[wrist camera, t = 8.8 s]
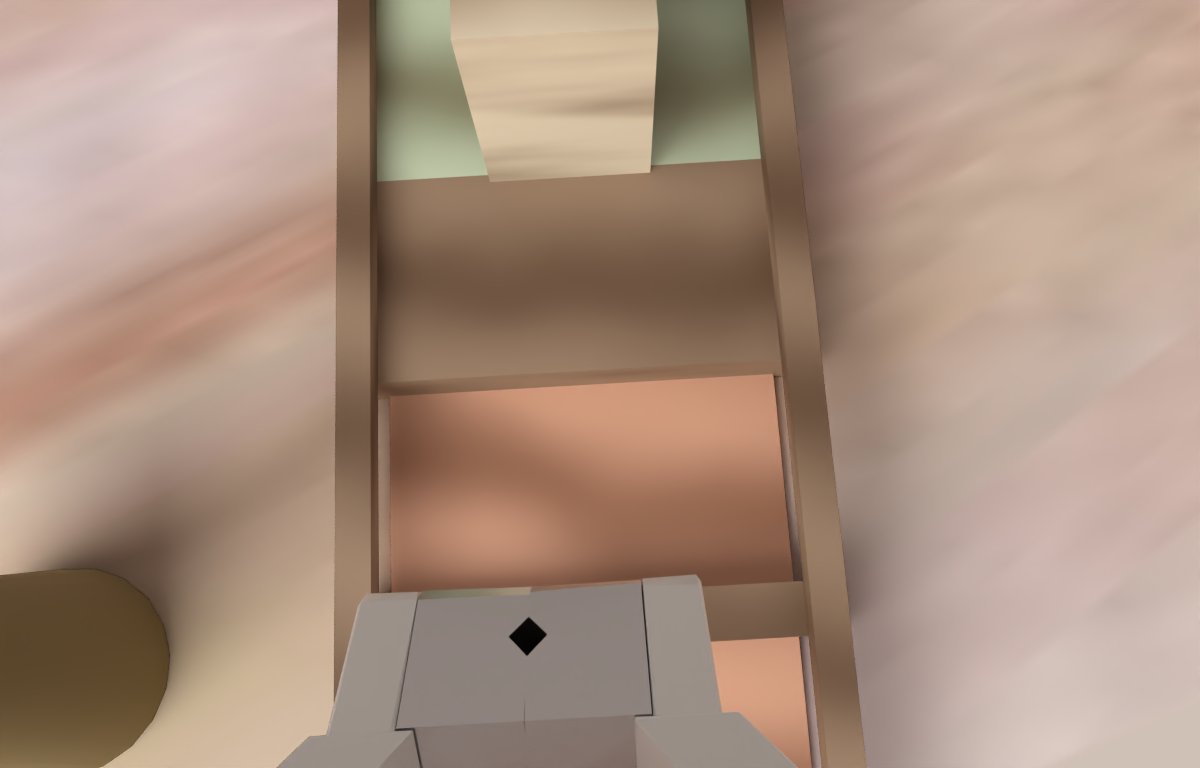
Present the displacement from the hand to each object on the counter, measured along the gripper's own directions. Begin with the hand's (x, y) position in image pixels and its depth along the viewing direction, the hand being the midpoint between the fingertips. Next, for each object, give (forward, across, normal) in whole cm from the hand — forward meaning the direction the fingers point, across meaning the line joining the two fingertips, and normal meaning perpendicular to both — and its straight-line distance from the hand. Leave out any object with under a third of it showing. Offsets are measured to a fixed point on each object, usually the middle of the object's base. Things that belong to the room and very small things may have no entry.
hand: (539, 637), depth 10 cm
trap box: (+21, 0, +11) cm, 24 cm away
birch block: (+27, 0, +3) cm, 27 cm away
